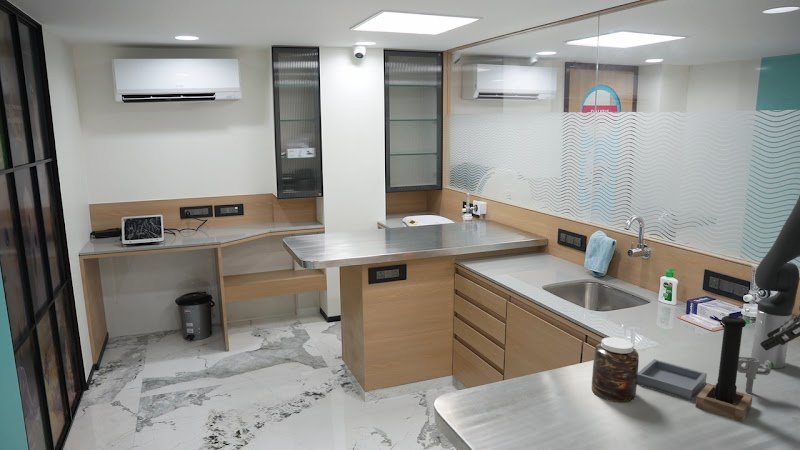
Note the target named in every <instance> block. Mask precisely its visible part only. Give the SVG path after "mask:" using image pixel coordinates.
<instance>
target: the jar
mask: <svg viewBox="0 0 800 450" xmlns="http://www.w3.org/2000/svg"><path fill="white" fill-rule="evenodd" d="M594 348H595V349H594V353H593V354H594V355H593V361H592V363H593V365H592V377H591V392H592V393H593V394H594V395H596V396H597V397H599V398H600V399H603V400H606V401H609V402H614V403H630V402H632V401H634V400H635V399H636V397H637V395H636V394H637V387H638V386H637V385H638V384H637V376H638V372H639V364H640V363H639V361H640V360H639V359H640V358H639V353H638V351H637V350H636V349H634V344H633V343H632V342H631V341H630V340H628V339H625V338H620V337H613V336H612V337H611V336H610V337H604V338H602V339H601V343H599V344H597V345H596V346H595V347H594Z"/></svg>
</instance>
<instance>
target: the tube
mask: <svg viewBox="0 0 800 450" xmlns="http://www.w3.org/2000/svg"><path fill="white" fill-rule="evenodd" d="M721 323H722V324H723V325H724V326H723V327H724V328H723V334H722V343H721V351H720V360H719V361H720V362H719V368H718V376H717V382H716V383H715V385H716V387H715V396H716V398H715V399H716V400H719V401H723V402H726V403H729V404H733V401H734V398H735V397H736V391H737V388H738V387H737V385H736V382H737V376H738V371H737V369H738V361H739V357H740V352H741V343H742V338H743V337H742V336H743V328H745V327H746V325H747V322H746V320H745V319H743V318H742V317H738V316H733V315H726V316H723V317H721ZM733 405H734V404H733Z"/></svg>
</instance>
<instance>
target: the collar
mask: <svg viewBox="0 0 800 450" xmlns="http://www.w3.org/2000/svg"><path fill="white" fill-rule="evenodd" d="M715 387H716V384H711V383H706V384H705V385H704V386H703V387H702V389H701V390H700V392H698V393H697V395H696V399H695V400H696V401H695V408H698V409H701V410H704V411H707V412H710V413H713V414H717V415H720V416H722V417H723V416H724V417H727V418H729V419H733V420H737V421H740V422H743V420H744V419H745V418H746V416H747V414H748V413H749V411H750V409H751V408H752V403H753V395H752V394H748V393H744V392H740V391H737V390H736V397H735V398H734V401H733V404H729V403H726V402H723V401H719V400H716V396H715Z"/></svg>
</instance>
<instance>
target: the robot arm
mask: <svg viewBox="0 0 800 450" xmlns="http://www.w3.org/2000/svg"><path fill="white" fill-rule="evenodd" d="M799 257H800V195H799V196H798V198H797V201H796V203H795V205H794V206H793V209H792V210H791V212H790V214H789V216H788V218H787V219H786V221H785V222H784V224H783V226H782V227H781V230H780V232H779V234H778V236H777V237H776V240H775V241H774V242H773V244H772V246H771V248H770V249H769V251H768V252H767V253H766V255H765V256H764V257H763V258H762V260H761V261H760V262H759V264H758V266H757V267H756V269H755V273H754V283H755V285H756V287H757V288H759V289H760V290H762V291H766V292H767V291H768V292H776V293H775V294H774V295H772V296H770V297H765V298H762V299H760V300H759V301H758V303H757V310H756V316H755V323H754V325H755V326H754V332H753V340H752V347H751V356H750V358H755V359H758V360H759V363H760V364H764V363H765V361H766V360H769V361H770V362H773V364H774V366H773V367H771V369H773V368H774V369H783V368H785V366H786V361H787V360H786V358H787V351H788V345H789V342H791V341H793V340H796V339H797V338H798V337H800V313H799V314H797V315H794V316H793V317H792V315H793V310H794V308H795V304H796V298H797V294H798V290H799V284H800V270H799V267H798V265H796V264H795V263H793V262H791V261H793V260H795V259H797V258H799ZM798 310H799V312H800V305H799V306H798Z"/></svg>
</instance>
